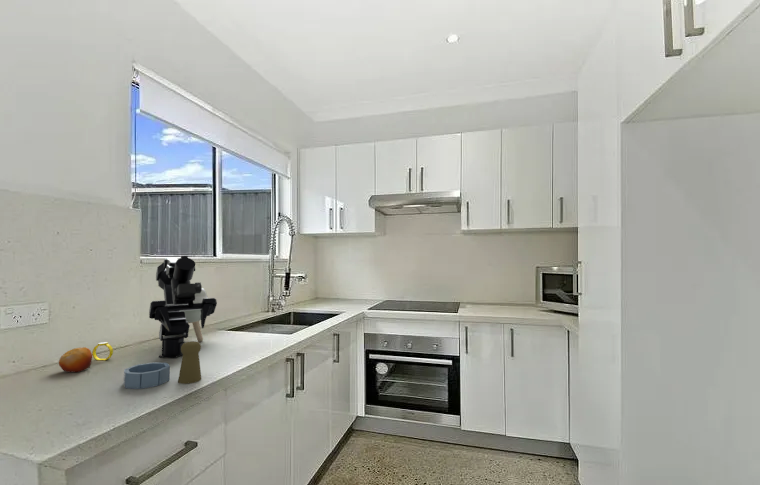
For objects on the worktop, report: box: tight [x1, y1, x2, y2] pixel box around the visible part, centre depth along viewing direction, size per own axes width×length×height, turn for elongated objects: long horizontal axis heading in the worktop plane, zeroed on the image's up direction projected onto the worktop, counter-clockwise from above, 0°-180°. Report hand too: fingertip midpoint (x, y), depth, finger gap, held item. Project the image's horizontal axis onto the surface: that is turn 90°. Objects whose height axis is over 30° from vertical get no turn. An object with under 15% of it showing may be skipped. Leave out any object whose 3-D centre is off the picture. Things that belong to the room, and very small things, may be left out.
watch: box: [91, 341, 114, 361], centre depth 124 cm, size 6×3×6 cm, turn 95°
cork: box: [177, 340, 202, 385], centre depth 105 cm, size 6×6×11 cm
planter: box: [184, 287, 209, 343], centre depth 152 cm, size 16×16×22 cm
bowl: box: [122, 362, 171, 390], centre depth 103 cm, size 11×11×4 cm
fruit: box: [58, 346, 93, 373], centre depth 113 cm, size 8×8×8 cm
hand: (186, 329), depth 111 cm, fingers open, 9 cm apart
